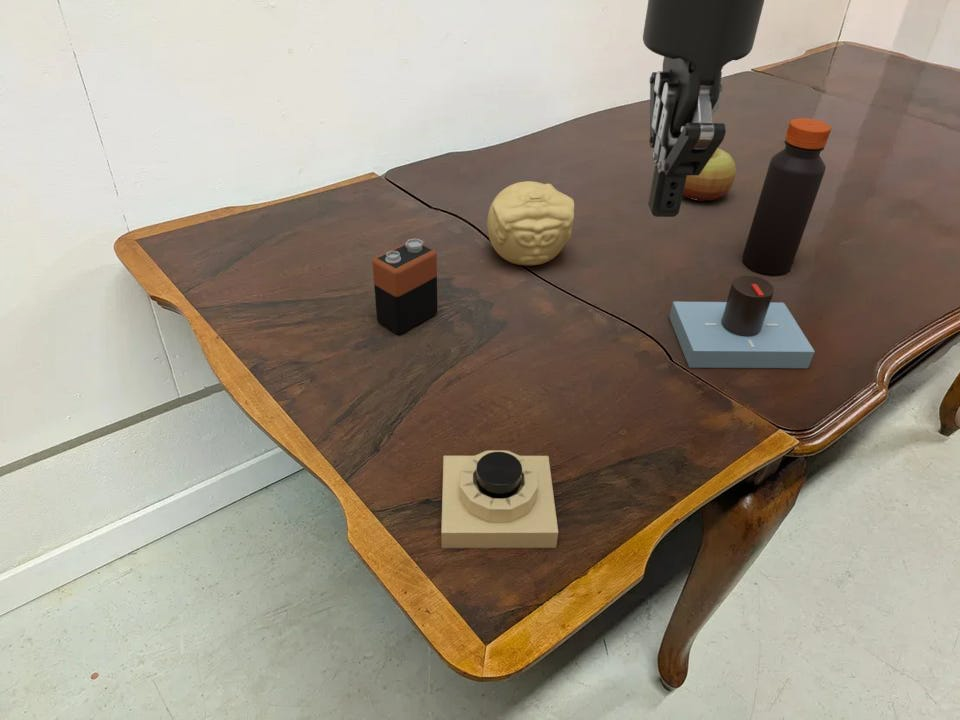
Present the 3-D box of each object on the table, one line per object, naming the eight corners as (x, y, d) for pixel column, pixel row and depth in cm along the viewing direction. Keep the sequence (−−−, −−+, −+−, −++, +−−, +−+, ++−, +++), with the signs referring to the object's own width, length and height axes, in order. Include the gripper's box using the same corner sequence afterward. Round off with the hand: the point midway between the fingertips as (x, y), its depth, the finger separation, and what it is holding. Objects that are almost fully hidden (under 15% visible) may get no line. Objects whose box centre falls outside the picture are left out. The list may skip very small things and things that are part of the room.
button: (519, 464, 65) (520, 451, 63) (522, 498, 61) (523, 485, 60) (475, 464, 64) (476, 451, 63) (476, 498, 61) (476, 485, 60)
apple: (692, 212, 113) (703, 164, 108) (656, 187, 120) (665, 141, 115) (741, 202, 116) (753, 155, 111) (703, 178, 123) (713, 133, 118)
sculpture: (494, 278, 96) (497, 206, 89) (480, 235, 105) (482, 166, 98) (576, 273, 97) (585, 201, 91) (555, 231, 107) (562, 163, 100)
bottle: (771, 248, 104) (815, 113, 92) (801, 272, 99) (851, 132, 87) (731, 255, 102) (770, 117, 90) (760, 279, 97) (805, 137, 85)
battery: (439, 314, 89) (438, 243, 83) (399, 337, 85) (395, 265, 79) (415, 300, 91) (412, 231, 85) (375, 322, 87) (369, 251, 81)
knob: (715, 314, 86) (727, 273, 82) (752, 313, 86) (765, 272, 83) (729, 337, 82) (742, 295, 79) (767, 335, 83) (781, 294, 79)
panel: (778, 318, 90) (784, 301, 88) (808, 368, 82) (815, 350, 81) (669, 317, 90) (673, 300, 88) (688, 367, 82) (693, 349, 80)
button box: (546, 471, 69) (550, 442, 66) (556, 548, 62) (560, 519, 59) (443, 471, 69) (443, 441, 66) (441, 548, 62) (441, 519, 59)
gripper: (804, -2, 42) (732, 254, 53) (736, -43, 52) (687, 178, 63) (678, -5, 42) (631, 253, 52) (635, -45, 52) (603, 177, 63)
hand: (662, 212), depth 58 cm, fingers closed
